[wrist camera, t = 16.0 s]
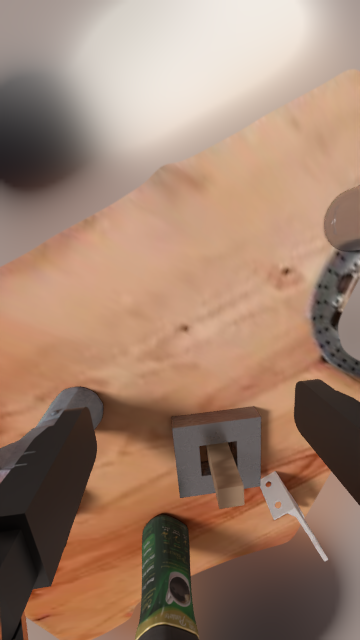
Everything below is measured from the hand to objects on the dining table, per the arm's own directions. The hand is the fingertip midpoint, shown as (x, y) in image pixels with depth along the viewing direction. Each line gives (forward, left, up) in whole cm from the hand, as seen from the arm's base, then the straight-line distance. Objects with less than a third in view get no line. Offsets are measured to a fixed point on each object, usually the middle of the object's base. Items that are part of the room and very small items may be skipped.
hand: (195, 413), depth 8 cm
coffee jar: (+6, +50, -28) cm, 58 cm away
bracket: (-19, +44, -28) cm, 56 cm away
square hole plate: (-6, +30, -28) cm, 42 cm away
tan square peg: (-6, +30, -28) cm, 42 cm away
